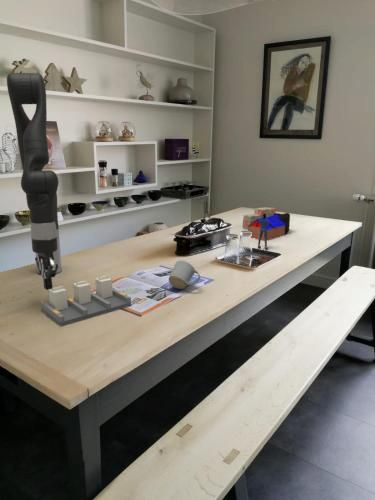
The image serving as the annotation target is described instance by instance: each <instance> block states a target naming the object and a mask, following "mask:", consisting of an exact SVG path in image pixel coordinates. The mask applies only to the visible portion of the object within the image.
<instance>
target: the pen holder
mask: <svg viewBox="0 0 375 500" xmlns="http://www.w3.org/2000/svg"><path fill="white" fill-rule="evenodd" d="M273 215H278V216H279V217H280V218H279V219H280V220H281V221H283V222H284V223H285V224H286V225H285V234H288V233H289V232H290V222H291V214H290V213H289V212H285V213H279V212H276V213H275V214H273Z"/></svg>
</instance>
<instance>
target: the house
mask: <svg viewBox="0 0 375 500" xmlns="http://www.w3.org/2000/svg"><path fill="white" fill-rule="evenodd" d="M279 218H280V217H279V216H278V215H273V216H268V217H266V218H265V219H267V220H268V221H269V223H270V224H271V225H272V226H273V227H274V228H276V230H275V229H274V228H273V227H271V226H269V224H267V240H268V241H270V239H271V240H274V239H277V238H280V236H281V237H283V235H284V236H285V234H286V233H285V225H286V224H285V223H284V222H283V221H281V220H280V219H279ZM260 219H263V218H260ZM260 219H256V220H255V221H254V222H253V223H251V224H250V225H249V226H247V227H248V230H247V232H248V231H250V232H252V236H251V238H250V239H253V238H255V239H254V240H257V239H258V241H259V238H260V229H261V222H260V223H259V224H258V226H257V227H256V224H257V223H258V221H259V220H260ZM261 242H265V238H264V232H263V235H262V238H261Z"/></svg>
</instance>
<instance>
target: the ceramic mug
mask: <svg viewBox="0 0 375 500" xmlns="http://www.w3.org/2000/svg"><path fill="white" fill-rule="evenodd" d="M195 274H197V275H198V277H197V278H196V279H195V280H193V281H191V279H192V278H193V276H194V275H195ZM200 279H201V275H200V272H199V271H198V270H196V269H195V267H194V266H193V265H192V264H191V263H190V262H187V261H186V260H185V261H184V260H178V261H176V262H175V264H174V267H173V268H172V270H171V272H170V274H169V276H168V282H169V284H170V285H171V286H172V287H174V288H175V289H177V290H179V289H180V290H183V289H186V288H187V286H194V285H196V284H198V283H199V281H200Z"/></svg>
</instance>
